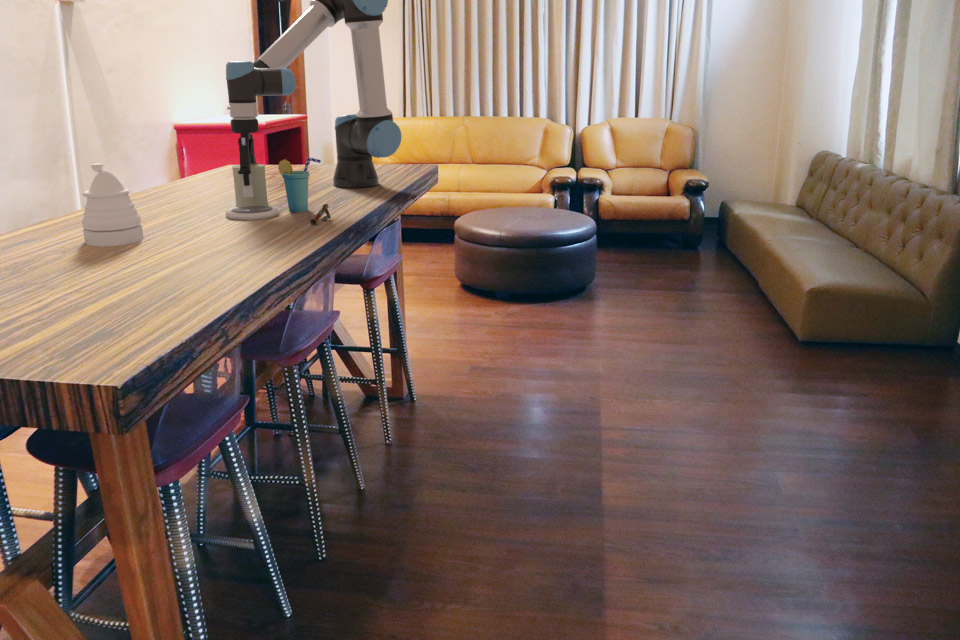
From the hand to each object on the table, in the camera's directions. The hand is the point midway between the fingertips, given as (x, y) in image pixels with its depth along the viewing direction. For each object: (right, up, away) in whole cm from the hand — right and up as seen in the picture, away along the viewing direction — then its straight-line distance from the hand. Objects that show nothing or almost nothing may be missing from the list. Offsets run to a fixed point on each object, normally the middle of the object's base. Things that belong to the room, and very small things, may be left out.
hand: (250, 193), depth 236 cm
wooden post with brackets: (+25, -12, -23) cm, 36 cm away
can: (0, -4, +1) cm, 4 cm away
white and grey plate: (+4, -8, -13) cm, 16 cm away
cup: (+16, -6, -7) cm, 19 cm away
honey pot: (-20, -18, -43) cm, 51 cm away
